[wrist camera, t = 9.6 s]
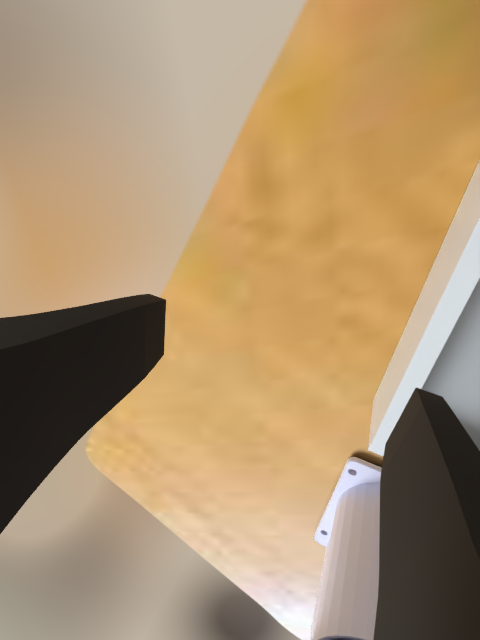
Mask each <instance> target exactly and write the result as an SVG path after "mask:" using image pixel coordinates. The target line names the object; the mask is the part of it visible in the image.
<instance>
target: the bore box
mask: <svg viewBox="0 0 480 640" xmlns="http://www.w3.org/2000/svg"><path fill="white" fill-rule="evenodd" d="M415 388H419V389H422V390H425V391H428V392H431V393H434V394H436V395H439V396H442V397H443V398H444V399H445V401H446V402H447V403H448V405H449V406H450V408H451V409H452V411H453V412H454V414H455V415H456V417H457V418H458V419H459V421H460V422H461V424H462V425H463V427H464V428H465V430H466V431H467V433H468V434H469V436H470V437H471V439H472V440H473V442H474V443H475V445H476V446H477V448H478V449H479V450H480V160H479V162H478V164H477V167H476V169H475V171H474V173H473V176H472V178H471V180H470V182H469V185H468V187H467V189H466V192H465V194H464V196H463V198H462V201H461V203H460V205H459V207H458V210H457V212H456V214H455V216H454V219H453V221H452V223H451V225H450V228H449V230H448V232H447V234H446V237H445V239H444V241H443V243H442V246H441V248H440V250H439V253H438V255H437V257H436V259H435V262H434V264H433V266H432V268H431V271H430V273H429V275H428V277H427V280H426V282H425V284H424V286H423V289H422V291H421V293H420V295H419V298H418V300H417V302H416V304H415V307H414V309H413V311H412V314H411V316H410V318H409V320H408V323H407V325H406V327H405V329H404V332H403V334H402V336H401V338H400V341H399V343H398V345H397V347H396V350H395V352H394V354H393V356H392V359H391V361H390V363H389V365H388V368H387V370H386V372H385V374H384V377H383V379H382V381H381V384H380V386H379V388H378V390H377V393H376V395H375V397H374V400H373V409H372V418H371V428H370V437H369V446H368V450H369V451H371V452H374V453H376V454H379V455H381V456H384V450H385V444H386V442H387V440H388V438H389V436H390V434H391V432H392V431H393V429H394V427H395V425H396V423H397V421H398V419H399V418H400V416H401V414H402V412H403V410H404V408H405V406H406V405H407V403H408V401H409V399H410V397H411V395H412V393H413V392H414V390H415Z"/></svg>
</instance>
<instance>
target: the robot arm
mask: <svg viewBox="0 0 480 640" xmlns="http://www.w3.org/2000/svg"><path fill="white" fill-rule="evenodd" d="M165 312H166V300H165V299H162V298H159V297H156V296H153V295H150V294H145V295H136V296H130V297H124V298H119V299H114V300H109V301H104V302H99V303H94V304H89V305H84V306H79V307H73V308H67V309H62V310H56V311H50V312H44V313H38V314H31V315H24V316H17V317H6V318H0V534H1V532H2V531H3V530H4V529H5V527H6V526H7V525H8V523H9V522H10V521H11V520H12V518H13V517H14V516H15V515H16V513H17V512H18V511H19V509H20V508H21V507H22V506H23V504H24V503H25V502H26V500H27V499H28V498H29V497H30V495H32V493H33V492H34V491H35V490H36V489H37V487H38V486H39V485H40V484H41V483H42V481H43V480H44V479H45V478H46V477H47V476H48V474H49V473H50V472H51V471H52V470H53V468H54V467H55V466H56V465H57V464H58V463H59V462H60V460H61V459H62V458H63V457H64V456H65V455H66V454H67V453H68V452H69V450H70V449H71V448H72V447H73V446H74V445H75V444H76V443H77V441H78V440H79V439H80V438H81V437H82V436H83V435H84V434H85V433H86V432H87V431H88V430H89V429H90V428H91V427H93V426H94V425H95V424H96V423H97V422H98V421H99V420H100V419H101V418H102V417H103V416H104V415H106V414H107V413H108V412H109V411H110V410H111V409H112V408H113V407H114V406H115V405H116V404H118V403H119V402H120V401H121V400H122V399H123V398H124V397H125V396H126V395H127V394H128V393H129V392H131V391H132V390H133V389H134V388H135V387H136V386H137V385H138V384H139V383H140V382H141V381H142V380H143V379H144V378H145V377H146V376H147V375H148V373H149V372H150V371H151V370H152V369H153V368H154V366H155V365H156V364H157V362H158V361H159V360H160V359H161V357H162V356H163V355H164V336H165ZM351 469H353V470H355V471H353V470H351ZM314 539H315V540H316V541H317V542H318V543H319V544H321V545H323V546H325V547H326V552H325V558H324V563H323V568H322V574H321V579H320V585H319V590H318V595H317V601H316V606H315V611H314V617H313V622H312V628H311V640H480V450H479V449H478V448H477V446H476V445H475V443H474V442H473V440H472V439H471V437H470V436H469V434H468V433H467V431H466V430H465V428H464V427H463V425H462V424H461V422H460V421H459V419H458V418H457V417H456V415H455V414H454V412H453V411H452V409H451V408H450V406H449V405H448V403H447V402H446V401H445V399H444V398H443V397H442V396H439V395H436V394H434V393H431V392H428V391H425V390H422V389H419V388H415V390H414V392H413V393H412V395H411V397H410V399H409V401H408V403H407V405H406V406H405V408H404V410H403V412H402V414H401V416H400V418H399V419H398V421H397V423H396V425H395V427H394V429H393V431H392V432H391V434H390V436H389V438H388V440H387V442H386V444H385V450H384V457H383V463H382V468H381V467H379V466H376V465H374V464H372V463H369V462H367V461H364V460H362V459H360V458H357V457H350V458H349V459H348V460H347V462H346V464H345V467H344V469H343V471H342V473H341V476H340V478H339V480H338V482H337V485H336V487H335V489H334V491H333V494H332V496H331V498H330V500H329V503H328V505H327V507H326V509H325V512H324V514H323V516H322V518H321V521H320V523H319V525H318V527H317V530H316V532H315V536H314Z"/></svg>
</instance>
